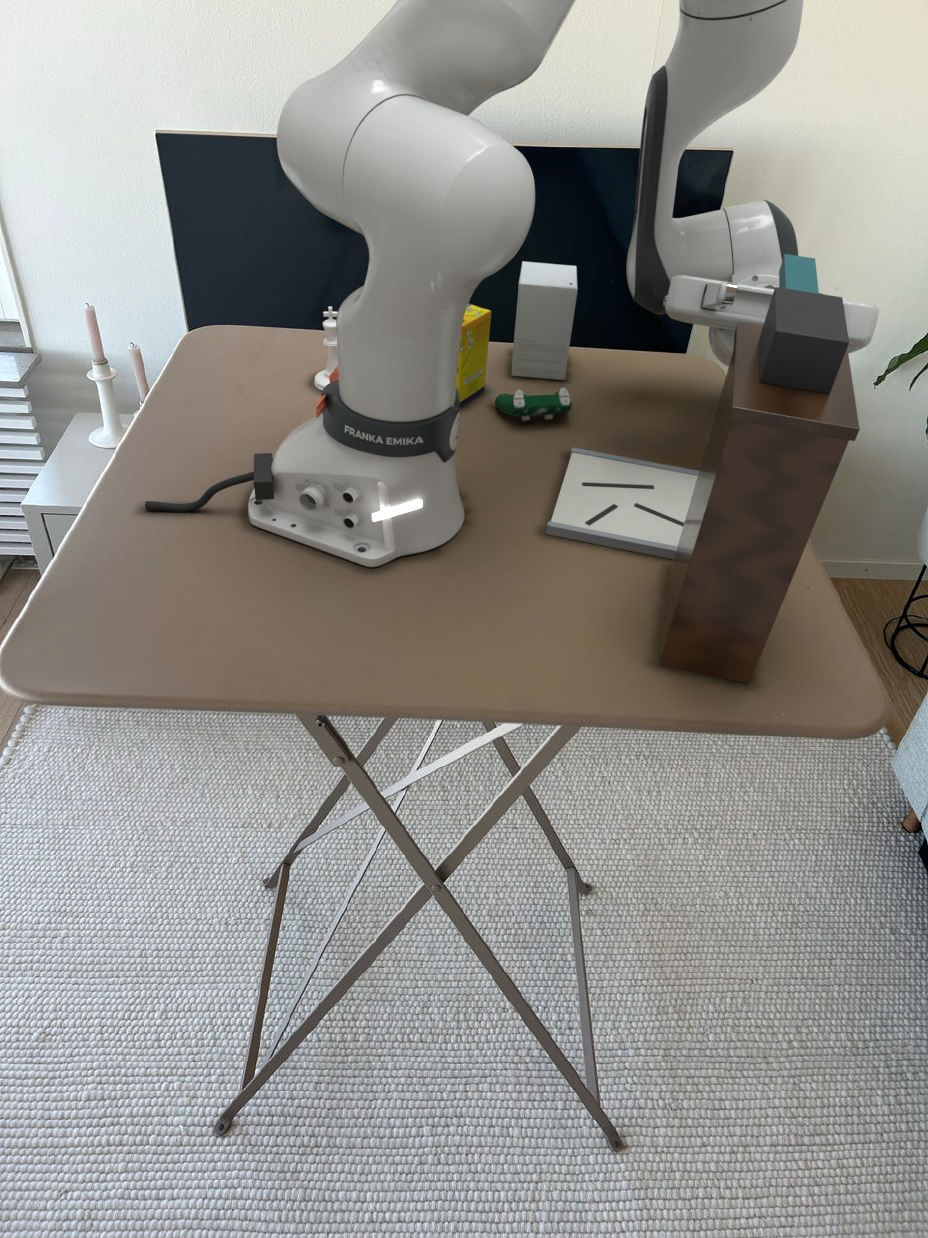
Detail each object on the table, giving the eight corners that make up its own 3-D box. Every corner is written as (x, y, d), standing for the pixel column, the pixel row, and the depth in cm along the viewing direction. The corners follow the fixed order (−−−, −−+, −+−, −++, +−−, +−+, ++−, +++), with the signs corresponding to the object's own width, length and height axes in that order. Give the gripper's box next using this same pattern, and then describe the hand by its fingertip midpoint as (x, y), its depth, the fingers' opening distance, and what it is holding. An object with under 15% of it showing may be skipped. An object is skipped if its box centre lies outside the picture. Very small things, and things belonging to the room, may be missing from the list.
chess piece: (314, 373, 114) (309, 298, 107) (352, 373, 115) (350, 298, 108) (314, 392, 111) (309, 316, 104) (353, 392, 111) (351, 316, 104)
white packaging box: (565, 356, 122) (579, 264, 113) (564, 382, 116) (578, 287, 108) (512, 350, 122) (521, 259, 113) (509, 376, 117) (518, 282, 108)
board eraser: (759, 382, 64) (775, 330, 61) (760, 283, 78) (774, 236, 75) (829, 394, 63) (849, 342, 60) (818, 292, 77) (834, 245, 74)
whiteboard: (545, 534, 92) (547, 525, 91) (570, 455, 103) (571, 446, 103) (723, 569, 89) (726, 560, 89) (728, 485, 101) (731, 476, 100)
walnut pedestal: (655, 666, 79) (732, 406, 61) (668, 566, 89) (737, 320, 72) (752, 687, 78) (860, 428, 60) (754, 584, 88) (846, 338, 70)
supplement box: (420, 393, 112) (422, 310, 104) (447, 376, 116) (451, 294, 108) (458, 409, 110) (463, 325, 102) (485, 391, 113) (492, 308, 106)
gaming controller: (495, 426, 110) (506, 414, 105) (492, 396, 111) (503, 383, 105) (566, 423, 112) (580, 411, 106) (563, 393, 112) (577, 379, 106)
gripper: (668, 273, 95) (675, 246, 82) (863, 304, 93) (902, 282, 79) (655, 333, 97) (659, 316, 84) (846, 366, 94) (882, 353, 81)
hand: (779, 300), depth 81 cm, fingers open, 8 cm apart
